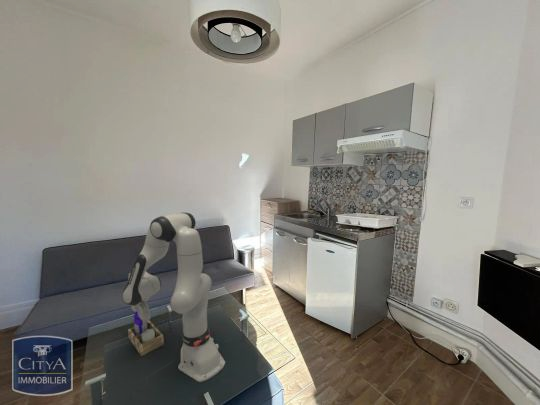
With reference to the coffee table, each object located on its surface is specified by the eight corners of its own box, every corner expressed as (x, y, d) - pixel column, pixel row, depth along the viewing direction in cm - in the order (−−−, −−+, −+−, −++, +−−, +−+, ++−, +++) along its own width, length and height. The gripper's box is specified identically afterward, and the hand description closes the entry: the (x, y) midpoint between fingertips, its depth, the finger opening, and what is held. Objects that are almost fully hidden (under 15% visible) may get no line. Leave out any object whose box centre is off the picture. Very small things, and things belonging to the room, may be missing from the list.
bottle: (149, 336, 128) (147, 307, 126) (138, 342, 123) (135, 311, 122) (144, 331, 132) (141, 302, 131) (133, 337, 128) (130, 307, 126)
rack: (164, 345, 122) (163, 335, 121) (141, 357, 114) (140, 346, 113) (150, 329, 135) (149, 320, 135) (129, 339, 127) (127, 329, 127)
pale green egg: (157, 344, 121) (156, 332, 121) (145, 351, 117) (143, 338, 116) (153, 339, 125) (151, 327, 125) (141, 345, 121) (139, 332, 120)
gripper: (152, 302, 121) (154, 327, 122) (139, 290, 135) (141, 312, 136) (139, 307, 116) (141, 333, 117) (127, 294, 130) (129, 317, 132)
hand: (141, 322), depth 127 cm, fingers open, 8 cm apart
